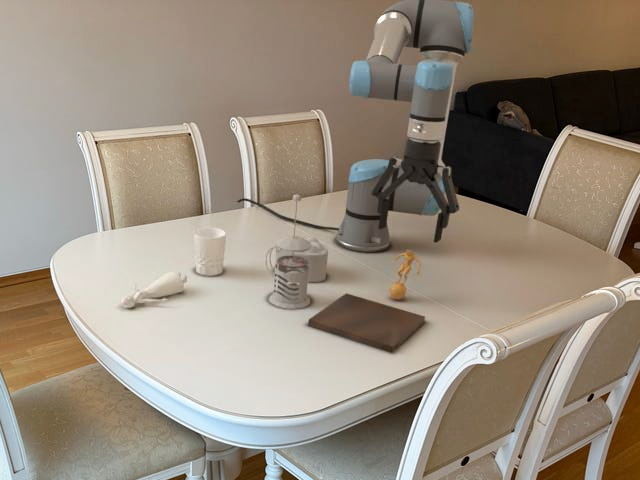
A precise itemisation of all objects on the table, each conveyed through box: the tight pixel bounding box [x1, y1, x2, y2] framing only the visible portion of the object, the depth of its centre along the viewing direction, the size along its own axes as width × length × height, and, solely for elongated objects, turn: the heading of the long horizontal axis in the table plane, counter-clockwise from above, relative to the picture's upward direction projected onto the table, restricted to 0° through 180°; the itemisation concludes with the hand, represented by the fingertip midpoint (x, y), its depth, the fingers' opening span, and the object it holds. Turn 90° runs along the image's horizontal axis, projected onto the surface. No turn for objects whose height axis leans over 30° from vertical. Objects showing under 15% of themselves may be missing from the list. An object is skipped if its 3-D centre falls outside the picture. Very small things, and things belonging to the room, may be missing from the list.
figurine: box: [388, 249, 421, 301], centre depth 166 cm, size 8×6×12 cm
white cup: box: [192, 227, 227, 277], centre depth 174 cm, size 8×8×10 cm
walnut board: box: [307, 293, 426, 353], centre depth 155 cm, size 20×18×2 cm
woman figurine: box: [120, 271, 188, 309], centre depth 159 cm, size 12×4×18 cm
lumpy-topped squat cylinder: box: [274, 235, 329, 283], centre depth 177 cm, size 10×13×9 cm
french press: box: [265, 194, 312, 310], centre depth 158 cm, size 10×12×25 cm
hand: (409, 234), depth 161 cm, fingers open, 13 cm apart
